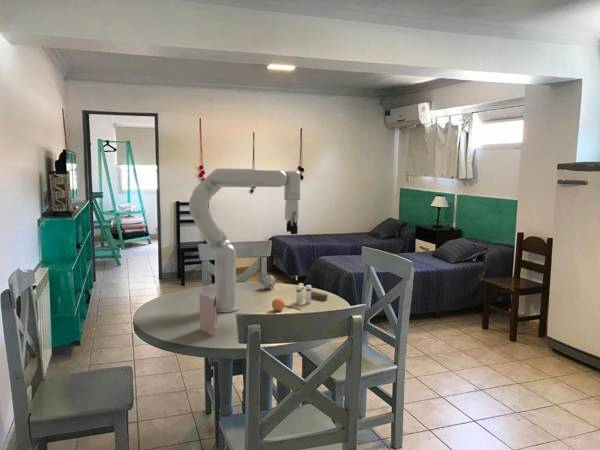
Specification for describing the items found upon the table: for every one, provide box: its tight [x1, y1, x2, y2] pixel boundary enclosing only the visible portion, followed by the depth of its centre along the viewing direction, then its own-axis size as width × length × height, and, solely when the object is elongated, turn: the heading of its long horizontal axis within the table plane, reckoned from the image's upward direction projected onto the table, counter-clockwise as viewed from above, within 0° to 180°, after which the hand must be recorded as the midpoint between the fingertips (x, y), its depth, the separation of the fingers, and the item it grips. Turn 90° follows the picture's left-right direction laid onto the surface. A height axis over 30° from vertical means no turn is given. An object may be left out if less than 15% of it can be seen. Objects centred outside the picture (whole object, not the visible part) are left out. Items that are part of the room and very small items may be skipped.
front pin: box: [295, 285, 302, 306], centre depth 236 cm, size 2×2×9 cm
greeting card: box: [198, 293, 218, 336], centre depth 194 cm, size 11×7×15 cm, turn 5°
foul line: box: [284, 305, 302, 311], centre depth 232 cm, size 1×14×1 cm, turn 50°
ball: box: [271, 297, 286, 312], centre depth 225 cm, size 6×6×6 cm
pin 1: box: [298, 282, 304, 303], centre depth 241 cm, size 2×2×9 cm
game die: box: [261, 273, 278, 290], centre depth 266 cm, size 9×8×10 cm
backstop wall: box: [311, 290, 328, 302], centre depth 248 cm, size 2×12×3 cm, turn 50°
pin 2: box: [305, 284, 312, 305], centre depth 238 cm, size 2×2×9 cm
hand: (291, 232), depth 230 cm, fingers open, 9 cm apart
